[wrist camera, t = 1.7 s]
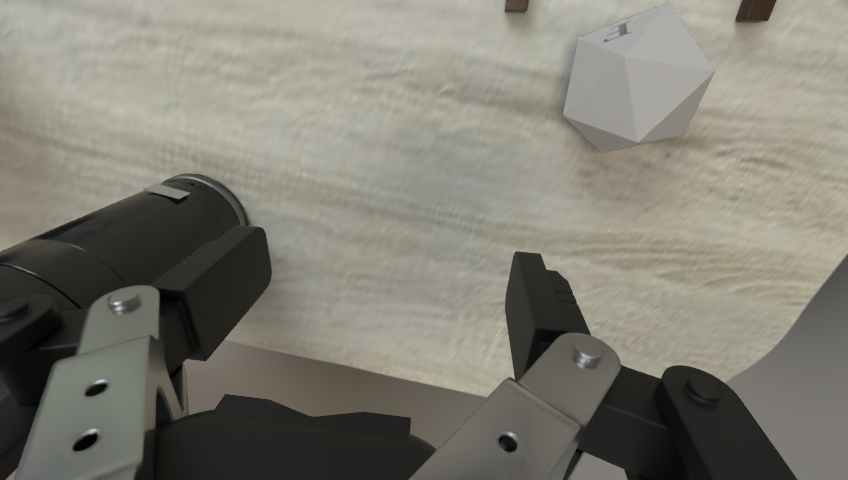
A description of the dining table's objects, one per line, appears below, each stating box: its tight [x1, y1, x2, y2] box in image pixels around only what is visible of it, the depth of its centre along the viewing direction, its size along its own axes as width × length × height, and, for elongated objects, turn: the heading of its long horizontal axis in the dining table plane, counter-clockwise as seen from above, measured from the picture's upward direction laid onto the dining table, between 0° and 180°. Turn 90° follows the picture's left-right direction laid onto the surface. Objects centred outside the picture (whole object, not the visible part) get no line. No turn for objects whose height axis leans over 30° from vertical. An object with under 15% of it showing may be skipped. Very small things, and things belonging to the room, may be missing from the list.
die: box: [563, 2, 715, 153], centre depth 26 cm, size 8×9×10 cm
